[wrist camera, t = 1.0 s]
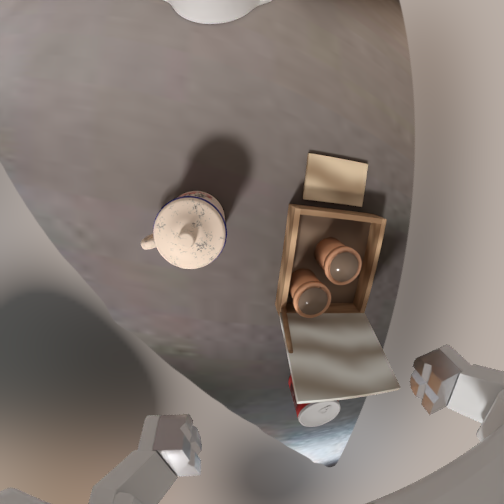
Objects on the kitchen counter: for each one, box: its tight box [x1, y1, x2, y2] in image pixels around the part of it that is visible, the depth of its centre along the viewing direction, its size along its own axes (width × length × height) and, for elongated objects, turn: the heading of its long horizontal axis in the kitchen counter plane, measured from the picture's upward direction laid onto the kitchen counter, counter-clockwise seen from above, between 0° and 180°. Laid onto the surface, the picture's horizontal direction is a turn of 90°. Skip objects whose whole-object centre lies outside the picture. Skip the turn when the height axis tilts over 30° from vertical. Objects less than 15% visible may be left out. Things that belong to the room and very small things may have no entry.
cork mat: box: [303, 153, 368, 207], centre depth 41 cm, size 7×10×1 cm
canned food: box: [289, 375, 340, 427], centre depth 48 cm, size 8×8×11 cm
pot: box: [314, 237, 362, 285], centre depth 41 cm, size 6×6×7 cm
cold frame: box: [275, 204, 400, 404], centre depth 37 cm, size 20×15×20 cm
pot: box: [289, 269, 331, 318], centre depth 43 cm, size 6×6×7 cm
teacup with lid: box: [141, 191, 227, 269], centre depth 36 cm, size 12×9×12 cm
